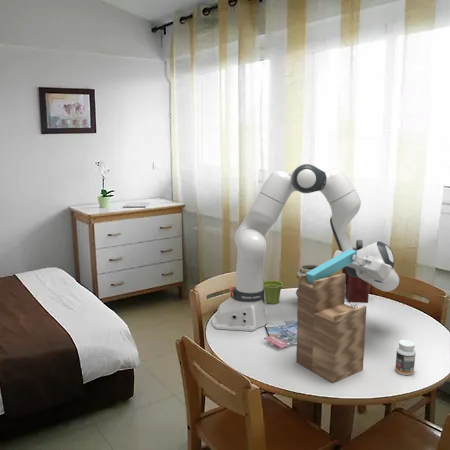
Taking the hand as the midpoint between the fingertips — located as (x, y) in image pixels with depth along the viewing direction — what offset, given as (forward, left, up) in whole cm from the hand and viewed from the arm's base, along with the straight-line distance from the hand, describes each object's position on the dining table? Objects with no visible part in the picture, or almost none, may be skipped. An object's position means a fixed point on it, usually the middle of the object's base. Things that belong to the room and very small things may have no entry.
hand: (347, 255), depth 163 cm
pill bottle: (+16, -16, -35) cm, 42 cm away
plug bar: (-6, -4, -4) cm, 8 cm away
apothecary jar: (-3, +43, -35) cm, 56 cm away
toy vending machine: (+19, +50, -35) cm, 64 cm away
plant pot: (-19, +48, -35) cm, 63 cm away
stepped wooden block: (-8, -11, -35) cm, 37 cm away
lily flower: (+14, +34, -36) cm, 51 cm away
